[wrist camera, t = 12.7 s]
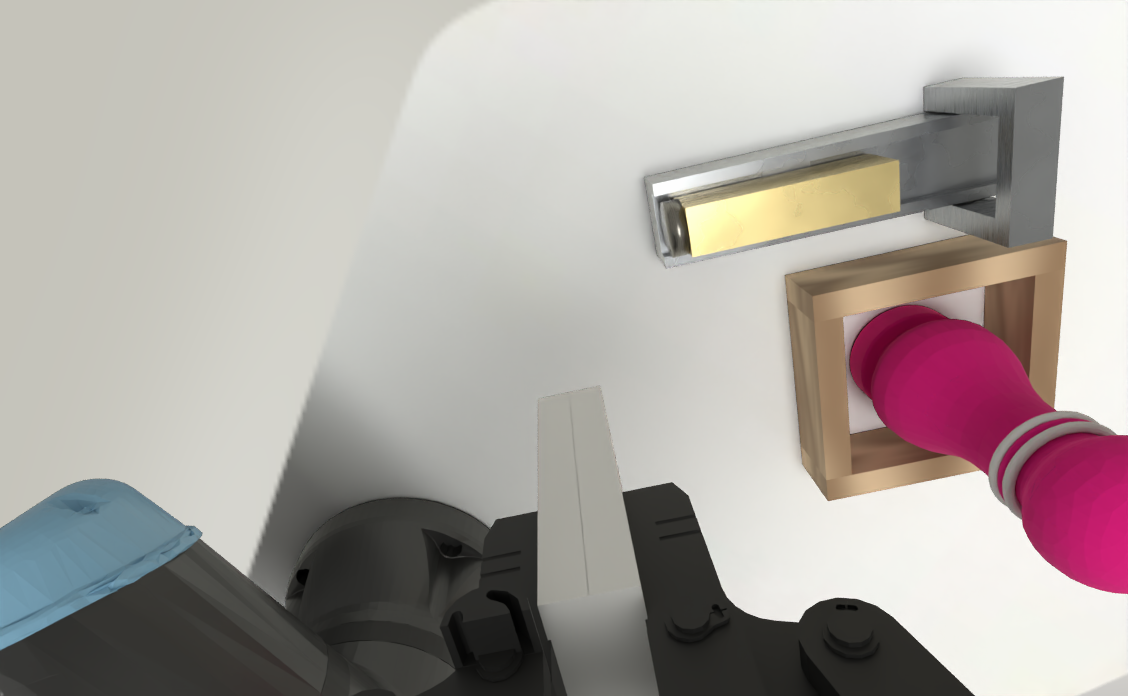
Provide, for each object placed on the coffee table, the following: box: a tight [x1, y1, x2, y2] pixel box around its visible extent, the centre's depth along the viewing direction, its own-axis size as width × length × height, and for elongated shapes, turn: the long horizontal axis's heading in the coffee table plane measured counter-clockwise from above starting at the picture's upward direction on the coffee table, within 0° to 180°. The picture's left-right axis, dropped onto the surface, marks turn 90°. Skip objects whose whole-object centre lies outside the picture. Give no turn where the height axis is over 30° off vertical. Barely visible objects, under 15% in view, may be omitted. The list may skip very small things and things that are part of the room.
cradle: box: [785, 235, 1067, 501], centre depth 38 cm, size 13×13×4 cm
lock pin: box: [660, 154, 900, 258], centre depth 32 cm, size 11×3×3 cm, turn 102°
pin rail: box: [644, 77, 1064, 268], centre depth 32 cm, size 20×7×7 cm, turn 102°
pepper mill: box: [850, 305, 1128, 594], centre depth 30 cm, size 7×7×20 cm
